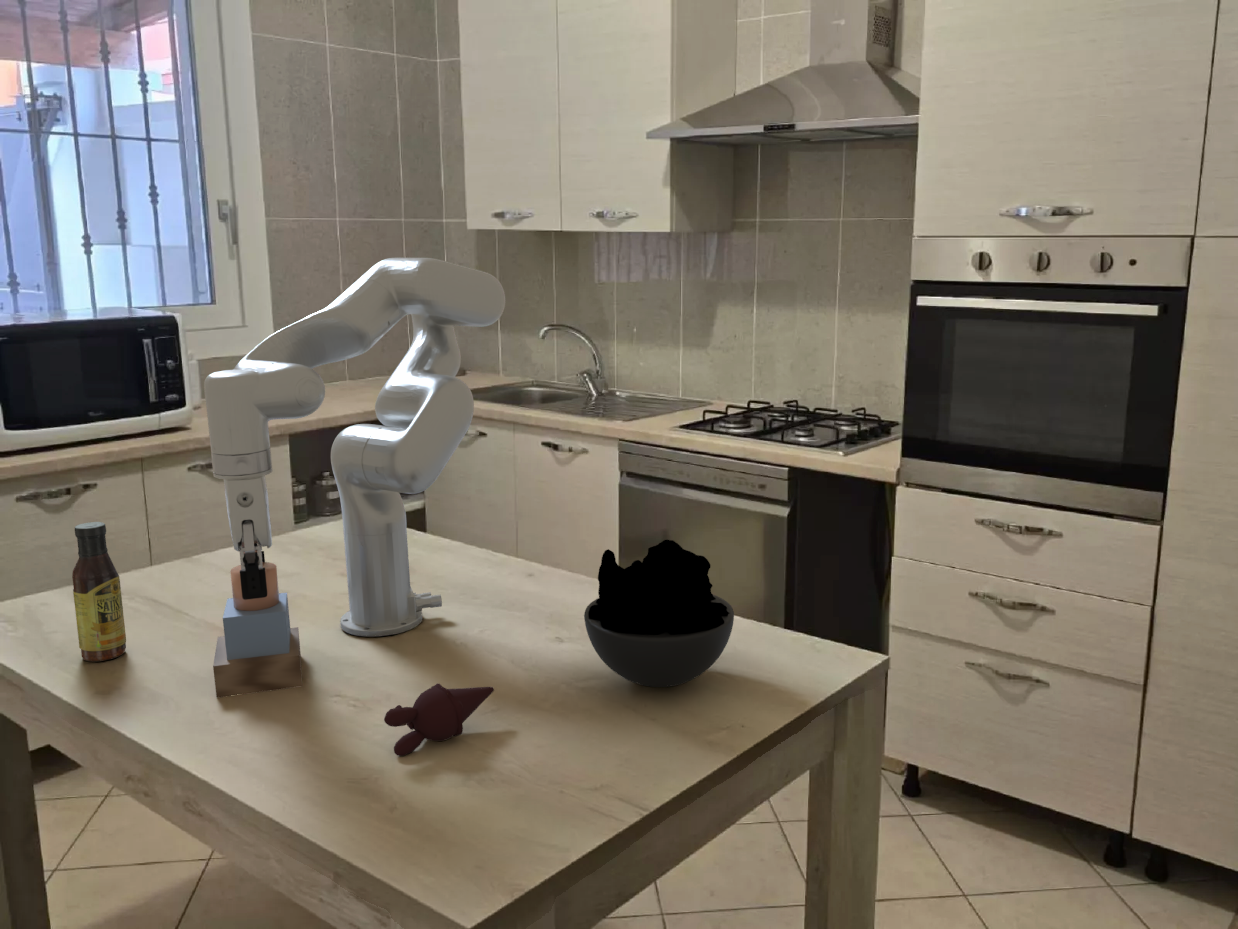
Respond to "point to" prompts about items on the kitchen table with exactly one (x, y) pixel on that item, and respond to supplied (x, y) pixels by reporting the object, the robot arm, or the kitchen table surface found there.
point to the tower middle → (257, 630)
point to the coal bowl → (658, 617)
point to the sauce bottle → (97, 596)
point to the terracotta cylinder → (256, 603)
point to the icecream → (435, 715)
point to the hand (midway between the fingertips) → (254, 587)
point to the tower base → (257, 670)
